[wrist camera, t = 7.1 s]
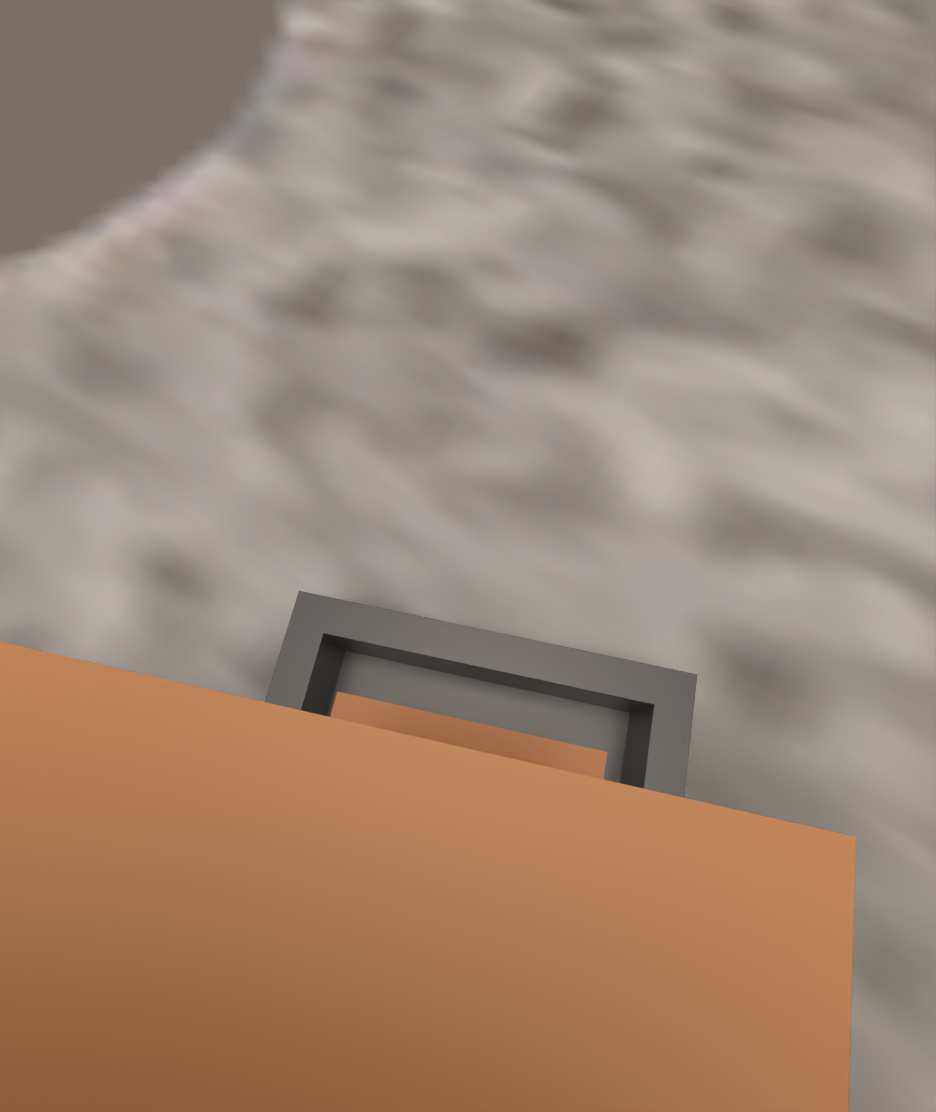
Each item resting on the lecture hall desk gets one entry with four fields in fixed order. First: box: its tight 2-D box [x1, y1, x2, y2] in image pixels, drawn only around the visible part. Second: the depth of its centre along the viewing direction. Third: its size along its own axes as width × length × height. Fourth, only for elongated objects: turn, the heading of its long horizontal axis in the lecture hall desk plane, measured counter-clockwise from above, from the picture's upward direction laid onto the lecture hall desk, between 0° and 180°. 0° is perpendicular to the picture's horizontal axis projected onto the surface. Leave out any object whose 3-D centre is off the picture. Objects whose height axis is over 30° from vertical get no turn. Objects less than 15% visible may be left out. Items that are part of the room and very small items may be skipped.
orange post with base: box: [0, 642, 856, 1112], centre depth 8 cm, size 6×6×12 cm
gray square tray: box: [265, 591, 697, 798], centre depth 17 cm, size 11×11×4 cm
